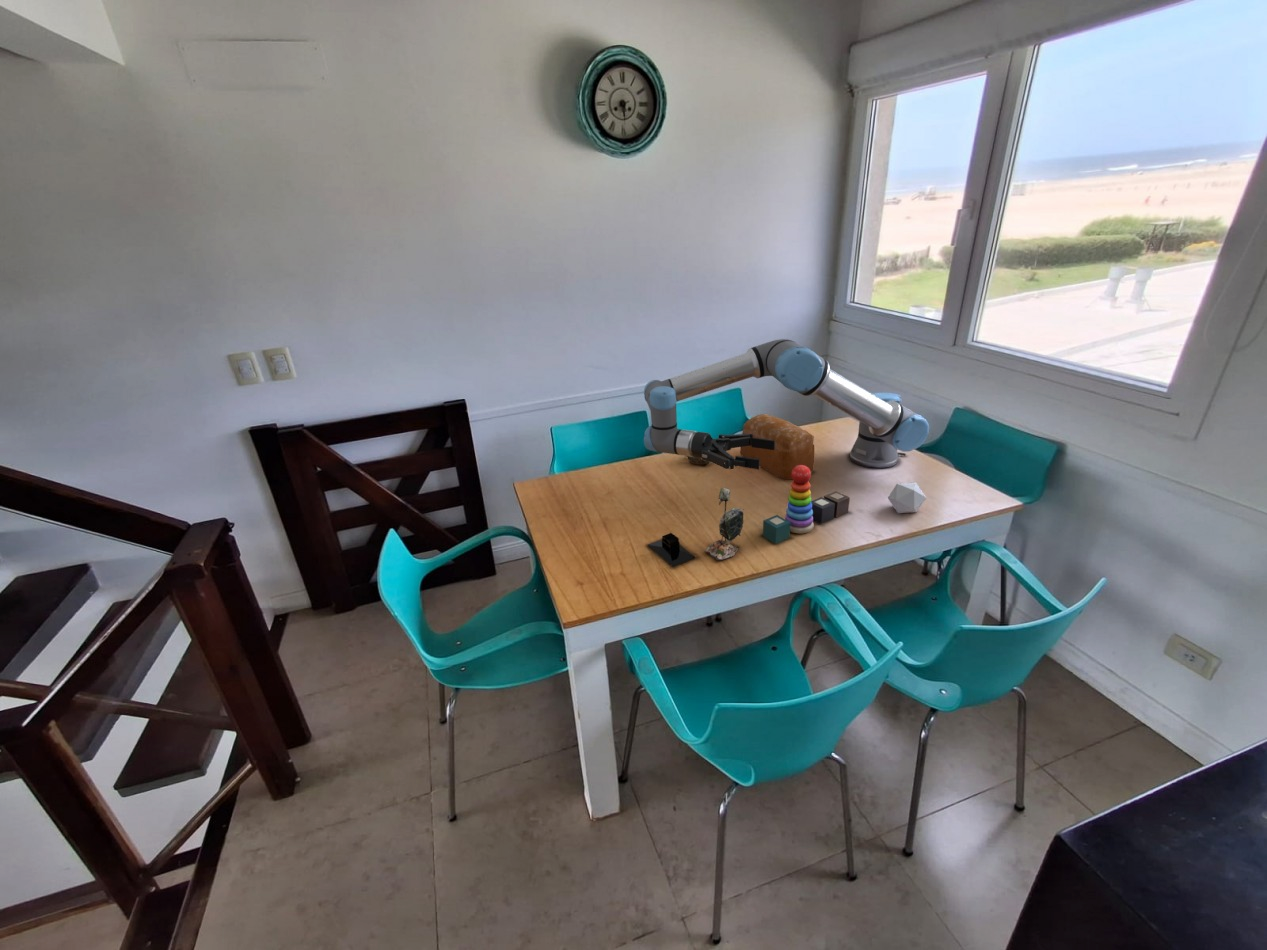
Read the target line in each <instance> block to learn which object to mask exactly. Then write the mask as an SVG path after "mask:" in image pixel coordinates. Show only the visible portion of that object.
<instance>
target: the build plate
mask: <svg viewBox="0 0 1267 950" xmlns="http://www.w3.org/2000/svg"><path fill="white" fill-rule="evenodd" d="M647 547H648V548H650V549H651V550H652V551H653V552H654V553H656V554H657V555H658V556H659V557H660V558H661V559H663V561H665V562H666V563H667V564H669V565H670V567H672V568H675V567H677V566H680V565H682V564H685V563H688V562H690V561H692V560H695V559H696V556H695V555H694V554H692V553H691V552H690V551H688V550H687V549H686V548H685V547H683V546H682V545H681V544H680V539H679V537H677V536H676V535H675V534H673V532H669V533H667V534H664V535H662V536H661V539H659V540H656V541H654V542H651V543H649V544H647Z"/></svg>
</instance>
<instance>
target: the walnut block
mask: <svg viewBox="0 0 1267 950" xmlns="http://www.w3.org/2000/svg"><path fill="white" fill-rule="evenodd" d="M823 498H825V499H827V500H829V501H831V502H833V503H835V509H834V518H839V517H841V516H843V515H846V514H848V513H849V508H850V499H851V497H850V496H848V495H846V494H844V493H841V492H839V491H837V490H835V491H832V492H830V493H828V494H825V495H823Z"/></svg>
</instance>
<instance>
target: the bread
mask: <svg viewBox="0 0 1267 950" xmlns="http://www.w3.org/2000/svg"><path fill="white" fill-rule="evenodd" d="M741 434H753V438H761V439H769V440H775V450H769V449H762V448H754V447H752V445H751V446H744V447H739V448H740V449H739V450H740V451H739V452H740V456H742V457H749V458H756V459H760V468H762V469H764V470H766V471H767V472H769V473H770V474H773V475H774V476H776V477H778V478H781V479H784V480H793V479H792V476H791V472H792V470H793V468H794V467H796V466H798V465H804V466H806V467H808V468H809V469H810V471H811V473H812V472H813V471H814V467H815V466H814V465H815V444H814V439H815V436H814V435H813V434H811V433H810V432H809V431H808V430H805V429H803V428H802V427H800V426H798V425H796V424H794V423H792V422H791V421H788V420H786V419H782V418H780V417H776V416H773V415H770V414H768V413H767V414H766V413H763V414H762V413H761V414H757V415H755V416H752V417H751V418H749V419H748V420H747V421H746V422H745V423H744V424H743V426H742V433H741Z"/></svg>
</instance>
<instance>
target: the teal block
mask: <svg viewBox="0 0 1267 950" xmlns="http://www.w3.org/2000/svg"><path fill="white" fill-rule="evenodd" d="M790 535H791V531H790V522H789V521H787V520H786V519H785V517H782V516H780V515H779V514H776V515H773V516H771V517H768V518H766V519H763V521H762V537H764V538H765V539H766V540H768V541H770V542H771V543H773V544H774V545H777V544H779V543H781V542H784V541H786V540H788V539H790Z"/></svg>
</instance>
